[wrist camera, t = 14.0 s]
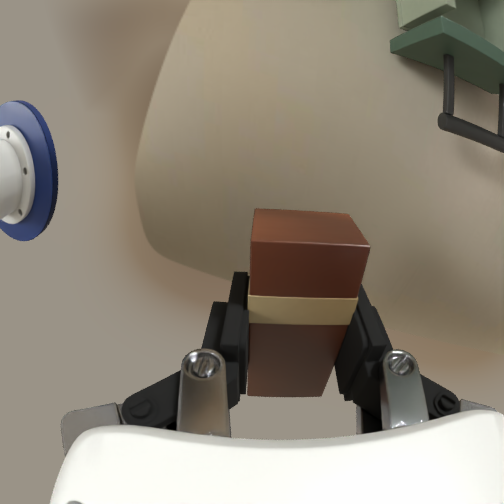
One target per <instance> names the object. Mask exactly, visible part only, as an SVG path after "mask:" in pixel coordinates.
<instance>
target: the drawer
mask: <svg viewBox="0 0 504 504" xmlns="http://www.w3.org/2000/svg"><path fill="white" fill-rule="evenodd" d="M396 4H397V13H398V25H399V28H400V29H403V30H406V31H407V32H405V33H403V34H401V35H399V36H397V37H395V38H394V39H392V40H390V51H391V53H393V54H397V55H400V56H403V57H406V58H410V59H413V60H416V61H419V62H422V63H424V64H427V65H430V66H432V67H435V68H438V69H440V70H443V71H444V99H443V113H441V114H440V115H439V117H438V126H439V128H440V129H442V130H445V131H448V132H451V133H454V134H457V135H460V136H462V137H465V138H468V139H471V140H473V141H476V142H478V143H481V144H483V145H486V146H488V147H491V148H493V149H495V150H498V151H500V152H502V153H504V0H396ZM454 76H457V77H459V78H461V79H463V80H465V81H468V82H470V83H472V84H474V85H476V86H478V87H480V88H482V89H483V90H485V91H487V92H489V93H491V94H499V120H498V134H495V133H493V132H490V131H488V130H486V129H484V128H482V127H479V126H477V125H475V124H472V123H470V122H467V121H465V120H462V119H460V118H457V117H454V116H452V115H453V113H454Z"/></svg>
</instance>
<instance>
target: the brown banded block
mask: <svg viewBox="0 0 504 504" xmlns="http://www.w3.org/2000/svg"><path fill="white" fill-rule="evenodd" d="M369 251H370V245H369V243H368V242H367V240H366V239H365V237H364V236H363V234H362V233H361V231H360V230H359V228H358V227H357V225H356V224H355V223H354V221H353V220H352V218H351V217H350V215H349V214H342V213H329V212H314V211H298V210H280V209H258V208H256V209H255V211H254V218H253V226H252V234H251V246H250V279H249V289H248V310H249V346H248V387H247V388H248V389H247V395H248V396H261V397H262V396H263V397H320V396H322V394H323V391H324V389H325V386H326V384H327V382H328V379H329V377H330V374H331V372H332V369H333V367H334V364H335V361H336V359H337V356H338V353H339V351H340V348H341V345H342V342H343V339H344V337H345V334H346V331H347V328H348V325H350V322H351V319H352V316H353V313H354V312H355V308H356V305H357V302H358V293H359V289H360V286H361V282H362V278H363V275H364V271H365V267H366V263H367V259H368V255H369Z"/></svg>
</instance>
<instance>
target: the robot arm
mask: <svg viewBox="0 0 504 504" xmlns="http://www.w3.org/2000/svg"><path fill="white" fill-rule="evenodd" d="M34 196H35V171H34V164H33V159H32V155H31V152H30V149H29V146H28V144H27V142H26V140H25V138H24V136H23V135H22V133H21V132H20V131H19V130H18V129H17V128H15V127H13V126H11V125H5V126H0V220H3V221H4V222H6V223H9V224H16V223H18V222H20V221H21V220H23V219H24V218H25V217H26V216H27V215H28V214H29V212H30V210H31V207H32V205H33V200H34ZM249 279H250V276H248V272H234V275H233V280H232V285H231V290H230V295H229V301H228V302H213V305H212V309H211V313H210V317H209V320H208V324H207V328H206V332H205V336H204V340H203V344H202V348H201V349H197V350H194V351H191V352H190V353H188V354H187V355H186V356H185V357H184V359H183V361H182V364H181V370H180V371H178V372H176V373H174V374H172V375H170V376H169V377H167V378H165V379H163V380H161V381H159V382H157V383H155V384H153V385H151V386H149V387H147V388H145V389H143V390H141V391H139V392H137V393H135V394H133V395H131V396H130V397H128V398H127V399H126V400H125V401H124V403H123V404H118V405H117V404H116V403H111V404H106V405H101V406H96V407H91V408H86V409H80V410H74V411H71V412H68V413H67V414H66V415H65V416H64V417H63V419H62V421H61V433H62V440H63V448H64V454H65V460H64V462H63V464H62V467H61V469H60V472H59V475H58V478H57V481H56V484H55V486H54V490H53V494H52V497H51V501H50V504H504V415H502V414H501V413H498V412H497V411H496V410H495V409H494V408H492V407H489V406H486V405H482V404H478V403H474V402H471V401H467V400H464V399H461V400H460V401H459V400H458V398H457V397H456V395H454V393H452V392H451V391H449V390H447V389H446V388H444V387H442V386H440V385H439V384H437V383H435V382H433V381H431V380H430V379H428V378H426V377H424V376H423V375H421V374H420V372H419V368H418V364H417V361H416V359H415V358H414V357H413V356H412V355H411V354H410V353H408V352H406V351H404V350H398V349H396V350H393V348H392V345H391V343H390V340H389V338H388V335H387V333H386V331H385V328H384V326H383V323H382V321H381V319H380V316H379V314H378V312H377V309H376V308H375V307H374V306H371V304H370V302H369V299H368V297H367V295H366V293H365V290H364V288H363V286H362V284H361V286H360V289H359V293H358V302H357V305H356V308H355V312H354V313H353V316H352V319H351V322H350V325H348V328H347V331H346V334H345V337H344V339H343V342H342V345H341V348H340V351H339V353H338V356H337V359H336V361H335V364H334V366H335V371H336V376H337V382H338V388H339V392H340V394H344V400H345V401H351V400H353V403H355V404H356V405H357V407H356V413H357V415H356V418H357V419H356V422H357V426H356V427H357V432H356V435H353V436H343V437H333V438H320V439H302V440H301V439H300V440H263V439H261V440H260V439H242V438H231V427H230V412H229V409H231V408H232V407H234V406H235V405H236V404H238V401H240V394H246V384H247V371H248V346H249V310H248V289H249Z"/></svg>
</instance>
